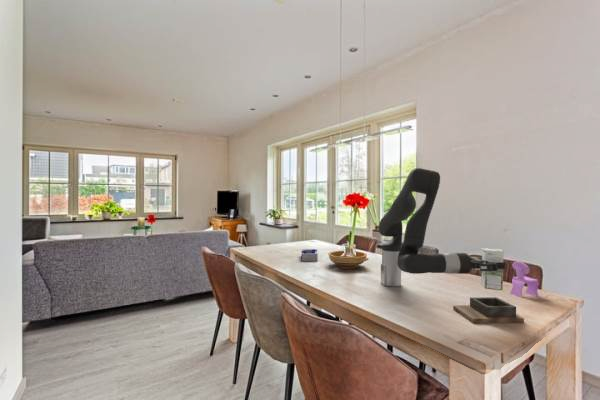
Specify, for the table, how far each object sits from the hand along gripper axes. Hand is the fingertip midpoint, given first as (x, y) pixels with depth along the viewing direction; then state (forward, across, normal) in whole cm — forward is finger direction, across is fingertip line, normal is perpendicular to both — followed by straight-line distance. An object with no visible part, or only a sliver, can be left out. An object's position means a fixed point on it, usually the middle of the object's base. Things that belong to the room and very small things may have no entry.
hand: (497, 263), depth 112 cm
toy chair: (+28, +23, +19) cm, 41 cm away
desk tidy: (-64, +106, +20) cm, 125 cm away
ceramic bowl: (-41, +81, +20) cm, 93 cm away
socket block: (-4, 0, +19) cm, 20 cm away
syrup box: (-2, 0, +9) cm, 10 cm away
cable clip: (-65, +106, +20) cm, 126 cm away
